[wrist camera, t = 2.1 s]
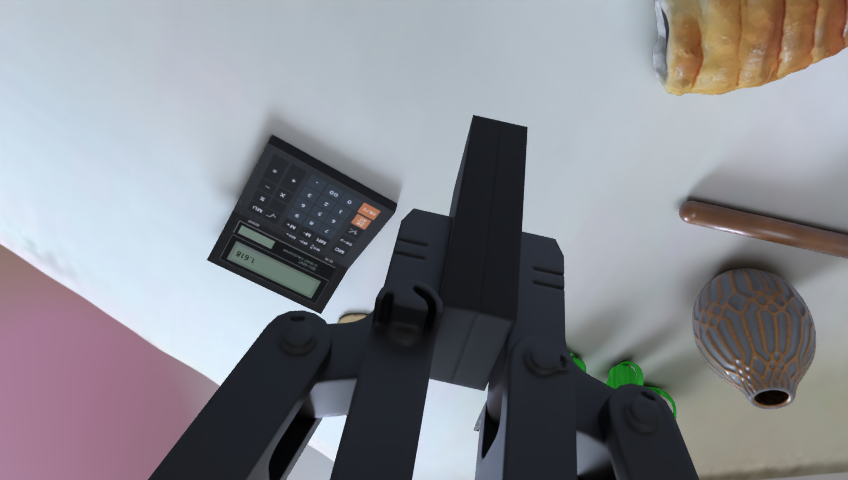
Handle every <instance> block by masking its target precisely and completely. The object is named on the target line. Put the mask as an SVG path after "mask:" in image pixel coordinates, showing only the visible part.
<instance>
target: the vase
mask: <svg viewBox="0 0 848 480" xmlns="http://www.w3.org/2000/svg"><path fill="white" fill-rule="evenodd" d="M692 323H693V332H694V337H695V341H696V344H697V347H698V349H699V351H700V353H701V355H702V357H703V359H704V360H705V362H706V363H707V364H708V366H709V367H710V368H711V370H712V371H713V372H714V373H715V374H716V375H718V376H719V377H720V378H721V379H723V380H724V381H725V382H727V383H728V384H730V385H731V386H733V387H734V388H736V389H737V390H739V391H740V392H741V393H742V394H743V395H744V396H745V397H746V398H747V399H748V401H749V402H750V403H751V404H752V405H754V406H756V407H759V408H763V409H777V408H781V407H785V406H787V405H789V404H790V403H792V402H793V400H794V399H795V395H796V390H797V386H798V384H799V382H800V381H801V380H802V378H803V377H804V375H805V373H806V372H807V370H808V369H809V367H810V365H811V363H812V361H813V358H814V354H815V348H816V331H815V326H814V322H813V319H812V316H811V313H810V311H809V309H808V307H807V305H806V303H805V301H804V300H803V298H802V297H801V296H800V295H799V293H798V292H797V291H796V290H795V289H794V288H793V287H792V286H791V285H790V284H789V283H787V282H786V281H785V280H784V279H782V278H780V277H778V276H776V275H774V274H772V273H769V272H766V271H762V270H758V269H751V268H740V269H734V270H730V271H727V272H724V273H722V274H720V275H718V276H716V277H715V278H714V279H712V280H711V281H710V282H708V283H707V284H706V285H705V286H704V288H703V289H702V290H701V292H700V293H699V295H698V297H697V299H696V302H695V305H694V309H693V317H692Z"/></svg>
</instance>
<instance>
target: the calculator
mask: <svg viewBox="0 0 848 480" xmlns="http://www.w3.org/2000/svg"><path fill="white" fill-rule="evenodd" d="M396 207H397V204H396V203H394V202H392V201H391V200H389V199H387V198H385V197H383V196H382V195H380V194H378V193H376V192H374V191H372V190H371V189H369V188H367V187H365V186H363V185H362V184H360V183H358V182H356V181H354V180H353V179H351V178H349V177H347V176H345V175H344V174H342V173H340V172H338V171H336V170H335V169H333V168H331V167H329V166H327V165H326V164H324V163H322V162H320V161H318V160H317V159H315V158H313V157H311V156H309V155H308V154H306V153H304V152H302V151H300V150H299V149H297V148H295V147H293V146H291V145H289V144H288V143H286V142H284V141H282V140H280V139H279V138H277V137H275V136H273V135H272V136H271V138H270V140H269V142H268V143H267V145H266V147H265V149H264V151H263V153H262V155H261V157H260V159H259V161H258V163H257V165H256V167H255V169H254V171H253V173H252V175H251V177H250V179H249V181H248V183H247V185H246V187H245V189H244V191H243V193H242V195H241V196H240V198H239V200H238V202H237V204H236V206H235V208H234V210H233V212H232V214H231V216H230V218H229V220H228V221H227V223H226V225H225V227H224V229H223V231H222V233H221V235H220V236H219V238H218V240H217V242H216V244H215V246H214V248H213V250H212V251H211V253H210V255H209V257H208V259H207V260H208V261H210V262H212V263H214V264H216V265H218V266H221V267H223V268H225V269H227V270H229V271H231V272H233V273H235V274H237V275H240V276H242V277H244V278H246V279H248V280H250V281H252V282H254V283H256V284H259V285H261V286H263V287H265V288H267V289H269V290H271V291H273V292H275V293H278V294H280V295H282V296H284V297H286V298H288V299H290V300H292V301H294V302H297V303H299V304H301V305H303V306H305V307H307V308H309V309H311V310H313V311H316V312H318V313H320V314H321V313H322V311H323V310H324V308H325V306H326V305H327V303H328V301H329V300H330V298H331V296H332V295H333V293H334V291H335V290H336V288H337V287H338V285H339V283H340V282H341V280H342V278H343V277H344V275H345V273H346V272H347V270H348V268H349V267H350V266H351V265H352V264H353V262H354V261H355V260H356V259H357V258H358V256H359V255H360V254H361V253H362V252H363V250H364V249H365V248H366V247H367V246H368V244H369V243H370V242H371V241H372V240H373V238H374V237H375V236H376V235H377V234H378V232H379V231H380V230H381V229H382V228H383V226H384V225H385V224H386V223H387V222H388V220H389V219H390V218H391V217H392V215H393V214H394V213H395V211H396Z"/></svg>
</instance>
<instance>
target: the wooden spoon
mask: <svg viewBox="0 0 848 480" xmlns="http://www.w3.org/2000/svg"><path fill="white" fill-rule="evenodd" d="M679 215H680V217H681V219H682V220H683V221H685V222H687V223H690V224H695V225H699V226H704V227H708V228H713V229H717V230H721V231H726V232H730V233H735V234H739V235H744V236H748V237H753V238H757V239H762V240H766V241H771V242H775V243H780V244H784V245H789V246H793V247H797V248H802V249H806V250H811V251H815V252H820V253H824V254H829V255H833V256H838V257H842V258H847V259H848V235H845V234H840V233H836V232H831V231H827V230H823V229H818V228H814V227H809V226H805V225H800V224H796V223H791V222H787V221H782V220H778V219H773V218H769V217H764V216H760V215H755V214H751V213H747V212H742V211H738V210H733V209H729V208H724V207H720V206H715V205H711V204H706V203H702V202H697V201H687V202H685V203H683V204H682V205H681V207H680V209H679Z"/></svg>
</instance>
